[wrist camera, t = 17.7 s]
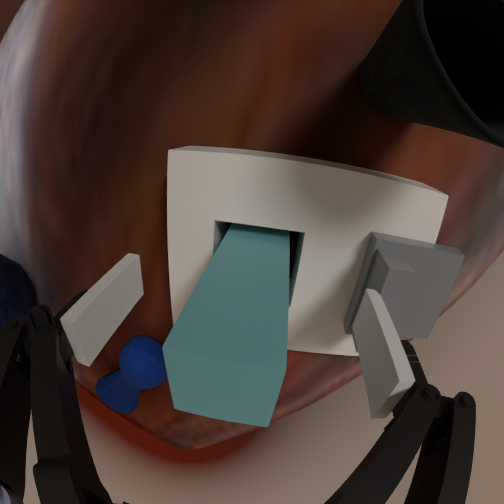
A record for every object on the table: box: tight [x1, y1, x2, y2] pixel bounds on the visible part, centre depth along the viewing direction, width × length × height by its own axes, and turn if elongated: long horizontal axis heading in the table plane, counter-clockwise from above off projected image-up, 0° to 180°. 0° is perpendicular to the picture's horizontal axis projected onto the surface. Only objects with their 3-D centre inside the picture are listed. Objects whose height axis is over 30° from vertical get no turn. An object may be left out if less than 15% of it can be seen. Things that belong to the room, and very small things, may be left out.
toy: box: [96, 335, 167, 414], centre depth 29 cm, size 7×6×15 cm
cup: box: [359, 0, 504, 148], centre depth 9 cm, size 8×8×12 cm
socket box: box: [167, 146, 448, 356], centre depth 19 cm, size 14×18×4 cm
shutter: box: [343, 232, 465, 352], centre depth 15 cm, size 7×7×4 cm
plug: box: [162, 223, 290, 427], centre depth 15 cm, size 4×4×14 cm
